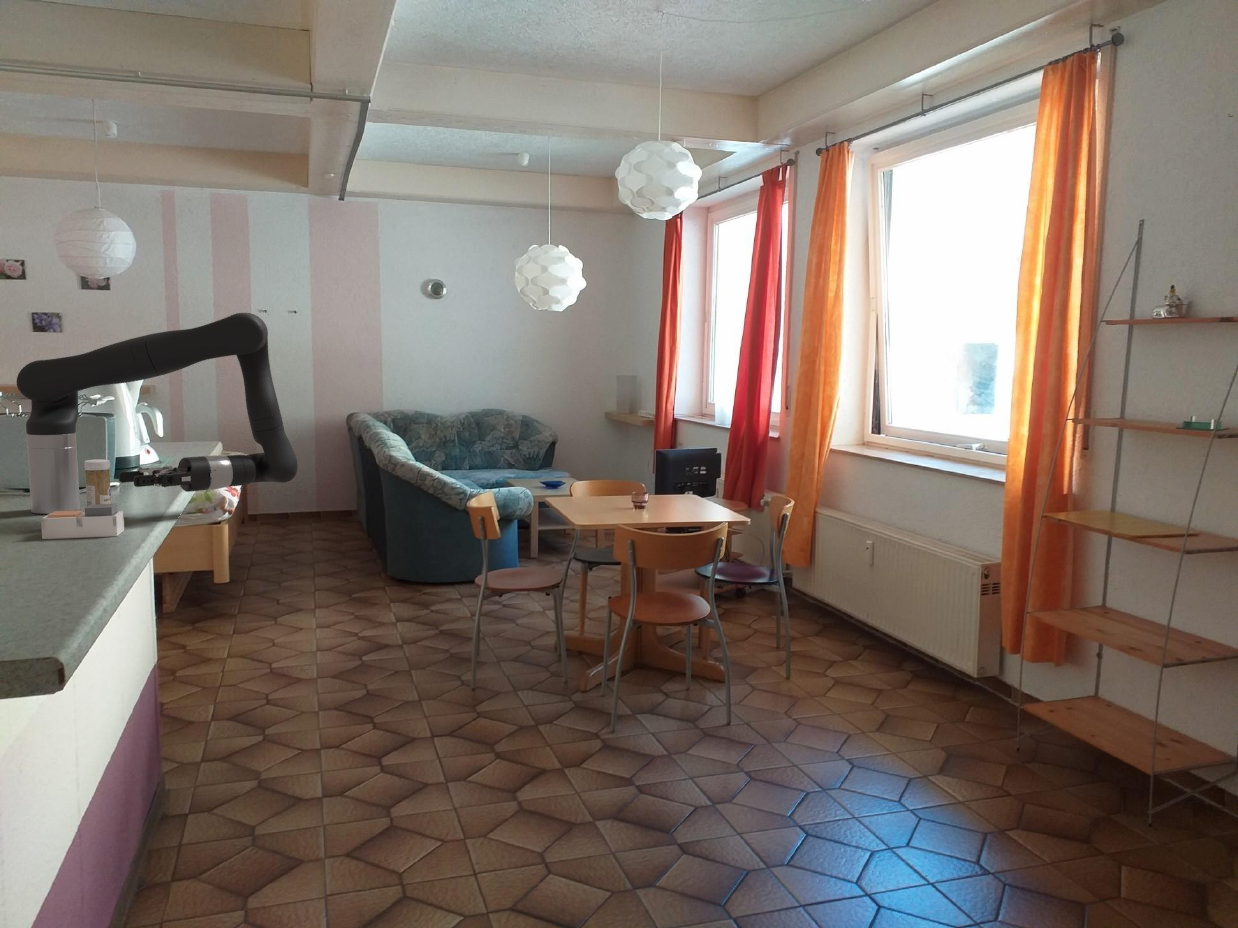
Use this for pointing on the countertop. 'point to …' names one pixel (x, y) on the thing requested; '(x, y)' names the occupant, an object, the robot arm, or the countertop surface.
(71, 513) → the key terracotta
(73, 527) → the keypad
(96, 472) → the sprinkles bottle
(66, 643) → the countertop surface
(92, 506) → the key charcoal
